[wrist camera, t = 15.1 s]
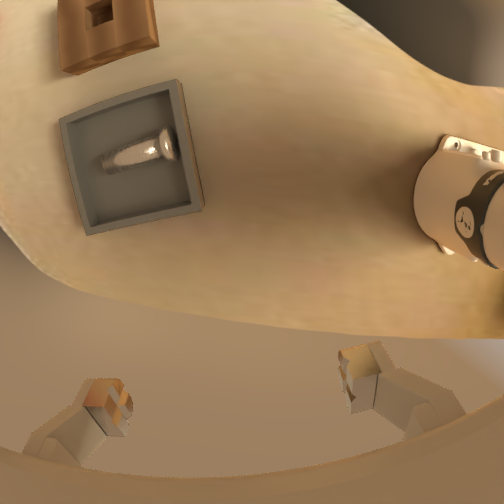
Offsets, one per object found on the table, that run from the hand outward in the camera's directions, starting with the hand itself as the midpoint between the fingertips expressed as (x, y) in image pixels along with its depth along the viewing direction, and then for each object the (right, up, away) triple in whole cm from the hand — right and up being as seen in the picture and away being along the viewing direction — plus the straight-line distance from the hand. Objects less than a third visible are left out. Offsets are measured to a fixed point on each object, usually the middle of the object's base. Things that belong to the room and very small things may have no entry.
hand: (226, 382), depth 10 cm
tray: (-14, +17, +26) cm, 34 cm away
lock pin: (-17, +16, +24) cm, 33 cm away
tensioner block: (-18, +35, +19) cm, 43 cm away
